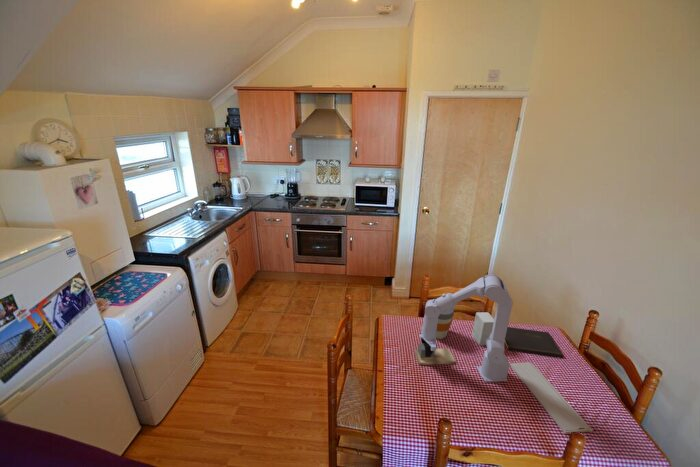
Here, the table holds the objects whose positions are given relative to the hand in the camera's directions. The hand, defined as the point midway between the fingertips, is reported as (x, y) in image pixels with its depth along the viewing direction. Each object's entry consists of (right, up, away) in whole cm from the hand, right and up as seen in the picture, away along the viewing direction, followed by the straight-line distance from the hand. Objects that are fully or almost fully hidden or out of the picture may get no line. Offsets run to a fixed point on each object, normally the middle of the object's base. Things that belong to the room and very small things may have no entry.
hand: (426, 352), depth 132 cm
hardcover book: (+52, -1, +12) cm, 54 cm away
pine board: (+4, -3, +1) cm, 5 cm away
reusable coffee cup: (+10, +3, +17) cm, 20 cm away
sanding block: (0, -2, +1) cm, 2 cm away
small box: (+30, +1, +13) cm, 33 cm away
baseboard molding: (+43, -11, -15) cm, 47 cm away
